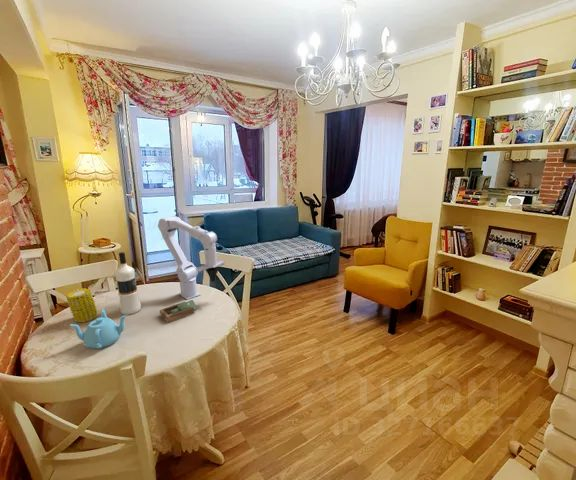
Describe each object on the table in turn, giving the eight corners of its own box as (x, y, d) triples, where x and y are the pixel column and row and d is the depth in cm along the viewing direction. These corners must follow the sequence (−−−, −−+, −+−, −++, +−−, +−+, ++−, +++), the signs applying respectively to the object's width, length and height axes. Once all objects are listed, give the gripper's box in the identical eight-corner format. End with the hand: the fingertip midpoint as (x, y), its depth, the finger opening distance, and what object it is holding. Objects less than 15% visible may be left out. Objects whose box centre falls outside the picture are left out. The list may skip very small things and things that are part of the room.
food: (102, 318, 144) (80, 329, 135) (87, 308, 148) (65, 318, 140) (99, 291, 138) (76, 301, 129) (84, 282, 142) (60, 291, 134)
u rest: (160, 315, 142) (159, 310, 141) (185, 306, 150) (185, 301, 150) (168, 323, 135) (167, 317, 135) (194, 313, 144) (193, 307, 143)
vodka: (118, 310, 148) (108, 252, 140) (138, 304, 154) (130, 248, 146) (122, 317, 141) (112, 256, 133) (143, 311, 147) (134, 252, 139)
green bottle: (190, 306, 150) (169, 314, 142) (190, 298, 147) (169, 305, 140) (195, 311, 147) (173, 320, 139) (196, 303, 144) (174, 311, 137)
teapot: (97, 356, 113) (92, 331, 110) (72, 346, 119) (67, 323, 116) (131, 336, 126) (127, 314, 123) (107, 328, 132) (103, 307, 129)
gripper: (201, 261, 144) (203, 287, 148) (227, 254, 154) (229, 279, 157) (194, 257, 149) (197, 283, 153) (220, 251, 159) (222, 275, 162)
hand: (212, 281), depth 155 cm, fingers closed
